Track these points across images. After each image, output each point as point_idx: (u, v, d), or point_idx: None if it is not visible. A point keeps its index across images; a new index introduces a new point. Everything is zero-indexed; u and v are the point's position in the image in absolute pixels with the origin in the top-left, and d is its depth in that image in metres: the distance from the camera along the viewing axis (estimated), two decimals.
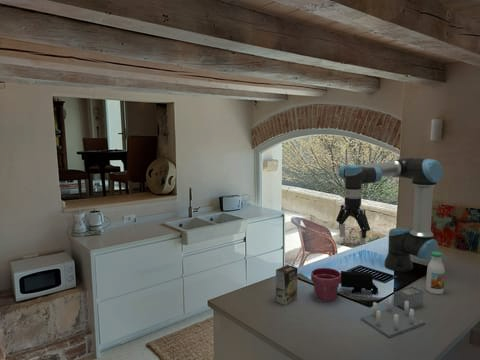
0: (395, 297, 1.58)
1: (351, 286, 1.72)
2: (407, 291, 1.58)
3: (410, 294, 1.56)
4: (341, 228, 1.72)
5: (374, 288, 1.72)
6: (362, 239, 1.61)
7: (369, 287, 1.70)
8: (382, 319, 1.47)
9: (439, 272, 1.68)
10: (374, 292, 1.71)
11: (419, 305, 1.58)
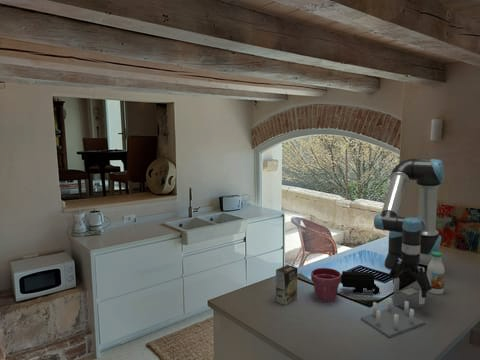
0: (395, 297, 1.58)
1: (352, 286, 1.72)
2: (407, 291, 1.58)
3: (410, 294, 1.56)
4: (395, 283, 1.64)
5: (375, 288, 1.72)
6: (422, 298, 1.52)
7: (371, 287, 1.70)
8: (382, 319, 1.47)
9: (439, 272, 1.68)
10: (375, 292, 1.71)
11: (419, 305, 1.58)
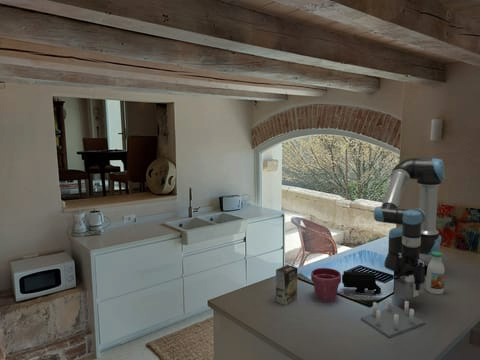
0: (396, 285, 1.58)
1: (354, 286, 1.71)
2: (408, 279, 1.58)
3: (411, 281, 1.56)
4: None
5: (377, 288, 1.72)
6: (415, 291, 1.55)
7: (372, 287, 1.70)
8: (382, 319, 1.47)
9: (439, 272, 1.68)
10: (377, 292, 1.71)
11: (420, 292, 1.58)
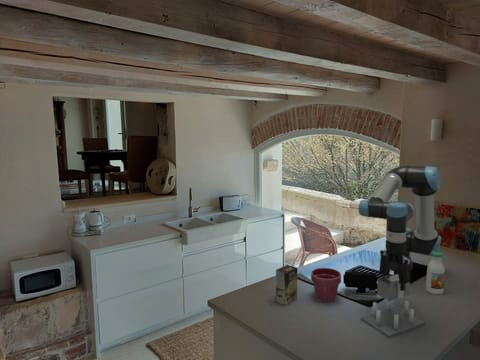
0: (379, 284, 1.44)
1: (355, 286, 1.71)
2: (392, 278, 1.44)
3: (395, 281, 1.42)
4: None
5: None
6: (400, 291, 1.41)
7: (374, 288, 1.70)
8: (382, 319, 1.47)
9: (439, 272, 1.68)
10: None
11: (405, 293, 1.44)
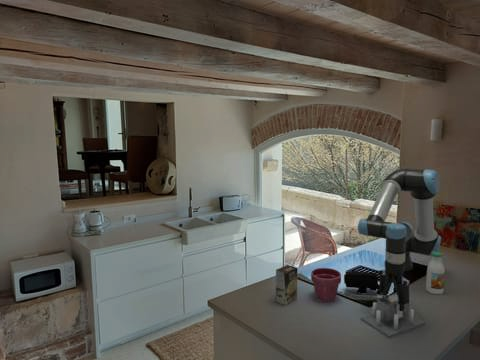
0: (378, 304, 1.45)
1: (356, 286, 1.71)
2: (392, 298, 1.45)
3: (394, 301, 1.43)
4: None
5: None
6: (399, 312, 1.43)
7: (374, 288, 1.70)
8: (382, 319, 1.47)
9: (439, 272, 1.68)
10: (379, 292, 1.71)
11: (404, 313, 1.45)
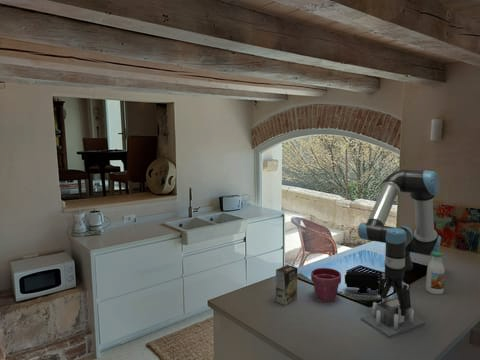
0: None
1: (357, 286, 1.71)
2: (391, 304, 1.46)
3: (394, 306, 1.43)
4: None
5: None
6: (401, 316, 1.42)
7: (375, 288, 1.70)
8: None
9: (439, 272, 1.68)
10: None
11: (404, 318, 1.46)
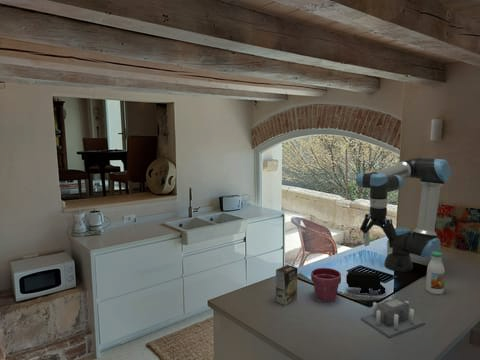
0: None
1: (358, 286, 1.71)
2: (391, 304, 1.46)
3: (394, 306, 1.43)
4: (366, 237, 1.72)
5: (381, 288, 1.71)
6: (389, 248, 1.60)
7: (377, 288, 1.70)
8: None
9: (439, 272, 1.68)
10: (381, 292, 1.71)
11: (404, 318, 1.46)
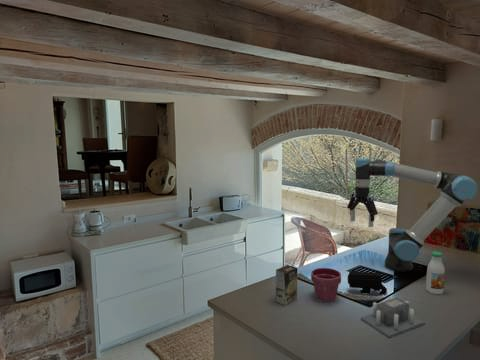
0: None
1: (360, 287, 1.71)
2: (391, 304, 1.46)
3: (394, 306, 1.43)
4: (352, 214, 1.98)
5: (383, 289, 1.71)
6: (370, 222, 1.86)
7: (378, 288, 1.70)
8: None
9: (439, 272, 1.68)
10: (383, 293, 1.71)
11: (404, 318, 1.46)
